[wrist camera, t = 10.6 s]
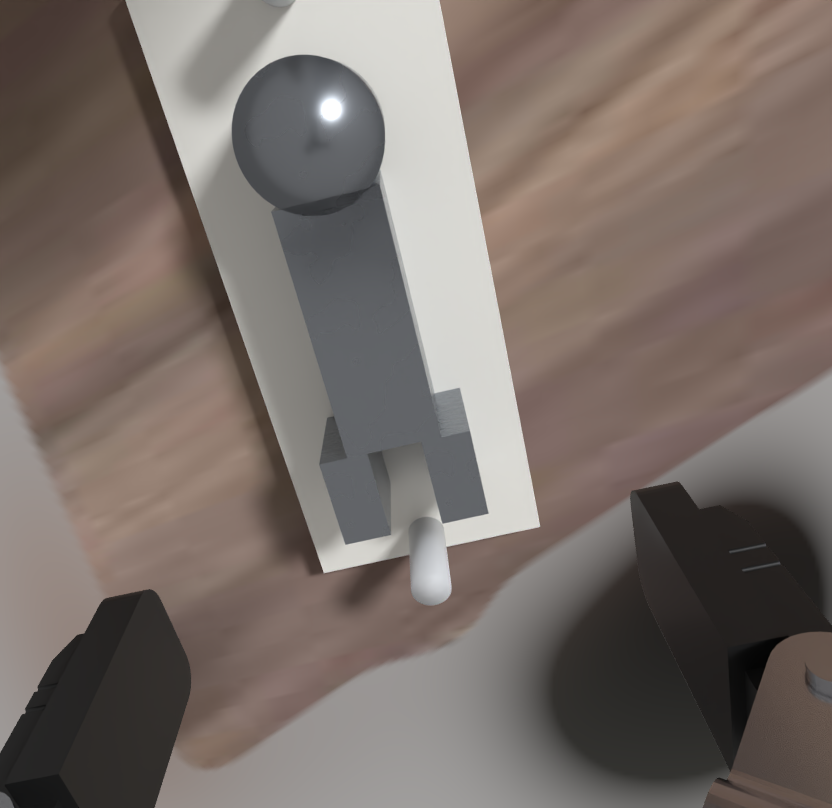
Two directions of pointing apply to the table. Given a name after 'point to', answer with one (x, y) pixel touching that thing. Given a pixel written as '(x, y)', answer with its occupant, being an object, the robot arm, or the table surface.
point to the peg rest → (416, 233)
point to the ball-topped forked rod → (352, 288)
